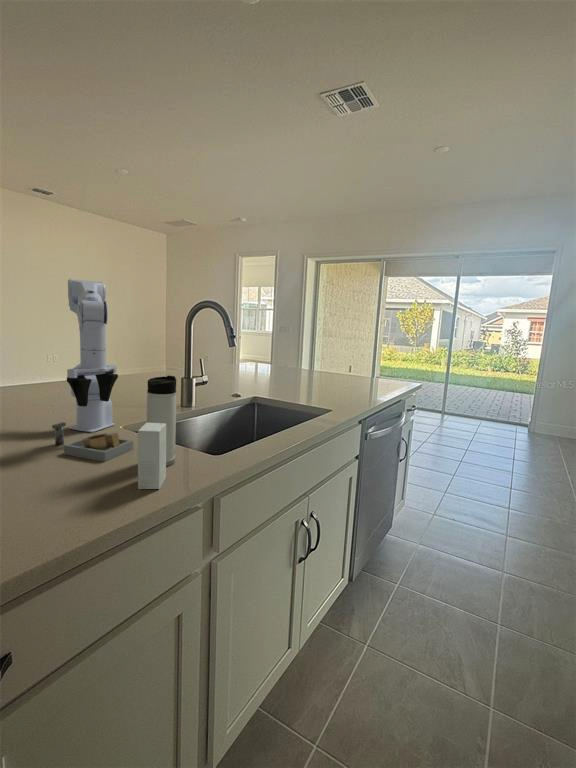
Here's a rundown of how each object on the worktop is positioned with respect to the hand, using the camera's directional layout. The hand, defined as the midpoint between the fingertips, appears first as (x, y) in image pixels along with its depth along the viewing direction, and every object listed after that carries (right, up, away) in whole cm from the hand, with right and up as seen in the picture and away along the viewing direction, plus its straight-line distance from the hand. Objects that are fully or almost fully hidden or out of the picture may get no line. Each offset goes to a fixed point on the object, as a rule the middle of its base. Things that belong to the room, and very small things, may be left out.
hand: (93, 403), depth 100 cm
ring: (+5, -10, -5) cm, 12 cm away
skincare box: (+22, -15, -20) cm, 33 cm away
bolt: (-8, -10, -1) cm, 13 cm away
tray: (+3, -11, -4) cm, 13 cm away
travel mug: (+20, -13, -9) cm, 25 cm away
